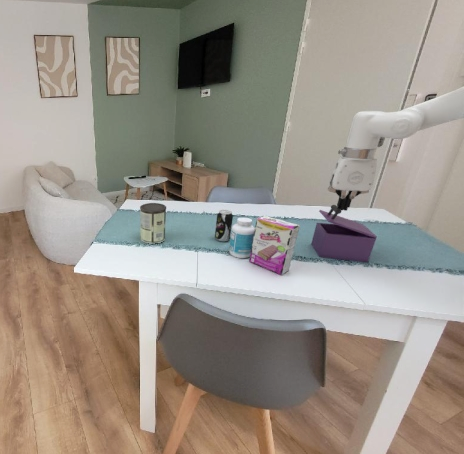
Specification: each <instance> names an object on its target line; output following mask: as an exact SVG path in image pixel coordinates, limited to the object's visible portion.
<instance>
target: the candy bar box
mask: <svg viewBox="0 0 464 454" xmlns="http://www.w3.org/2000/svg"><path fill="white" fill-rule="evenodd" d="M300 226H301V225H300V224H297V223H293V222H290V221H286V220H283V219H279V218H276V217H272V216H268V215H266V214H264V215H262V216H259V217H257V218H256V221H255V226H254V228H255V231H254V237H253V243H252V249H251V254H250V257H249V260H248V262H249V263H251V264H252V265H253V264H254V265H256V266H258V267H261V268H263V269H266V270H268V271H270V272H272V273H275V274H278V275H280V276H283V275H284V274H286V273H287V272H289V271H290V268H291V263H292V259H293V255H294V250H295V247H296V243H297V238H298V235H299V230H300Z"/></svg>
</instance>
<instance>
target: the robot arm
mask: <svg viewBox="0 0 464 454" xmlns="http://www.w3.org/2000/svg"><path fill="white" fill-rule="evenodd" d="M460 119H464V85H463V86H462V87H459V88H457V89H454V90H452V91H450V92H447V93H445V94H441V95H439V96H437V97H434V98H432V99H429V100H426V101H422V102H420V103H418V104H415V105H412V106H409V107H406V108H404V109H401V110H398V111H390V112H389V111H388V112H385V111H384V110H383V111H382V110H363V111H358V112H356V113H355V114H354V115H353V117H352V121H351V125H350V128H349V132H348V136H347V140H346V143H345V146H344V147H343V149H339V150H338V153H337V154H338V155H341V156H340V157H338V160H337V162H336V164H335V166H334V168H333V171H332V174H331V177H330V179H329V186H328V188H327V191H328V192H331V193H335V194H336V195H337V196H338V200H337V203H336V206H337V207H338V208H339V209H340V210H341V211H345V212H346V211H348V210H349V209H350V207H351V204H352V200H353V199H355V198H356V197H358V196H359V195H365V194H369V192H370V190H371V189H372V187H373V185H374V181H375V177H376V172H377V163H378V160H377V158H375V155H376V152H377V148H378V146H379V143H380V139H381V138H384V139H392V140H403V139H406V138H410V137H413V136H414V135H415V134H417V132H420V131H423V130H426V129H429V128H432V127H436V126H438V125H443V124H446V123H449V122H453V121H456V120H460ZM347 191H348V192H347ZM348 208H349V209H348Z"/></svg>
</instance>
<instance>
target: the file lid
mask: <svg viewBox="0 0 464 454" xmlns="http://www.w3.org/2000/svg"><path fill="white" fill-rule="evenodd" d="M318 212H319V213H320V214H321V215H322V217H323V218H324V219H325V220H326V221H327V222H328V223H329V224H336V225H339V226H342V227H345V228H348V229H351V230H353V231H356V232H359V233H362V234H365V235H368V236H371V237H374V238H376V239H377V238H378V236H377V235H376V234H375V233H374V232H373V231H372V230H370V229H369V228H368V227H367V226H366V225H365V224H363V223H360V222H357V221H355V220H351V219H349V218H345V217H344V216H343V217H342V216H339V215H340V214H341V213H342V210H340V209H339V208H338V207H337V204H332V205H331V206H330V210H329V211H325V210H323V209H319V211H318ZM333 212H334V213H333Z"/></svg>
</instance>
